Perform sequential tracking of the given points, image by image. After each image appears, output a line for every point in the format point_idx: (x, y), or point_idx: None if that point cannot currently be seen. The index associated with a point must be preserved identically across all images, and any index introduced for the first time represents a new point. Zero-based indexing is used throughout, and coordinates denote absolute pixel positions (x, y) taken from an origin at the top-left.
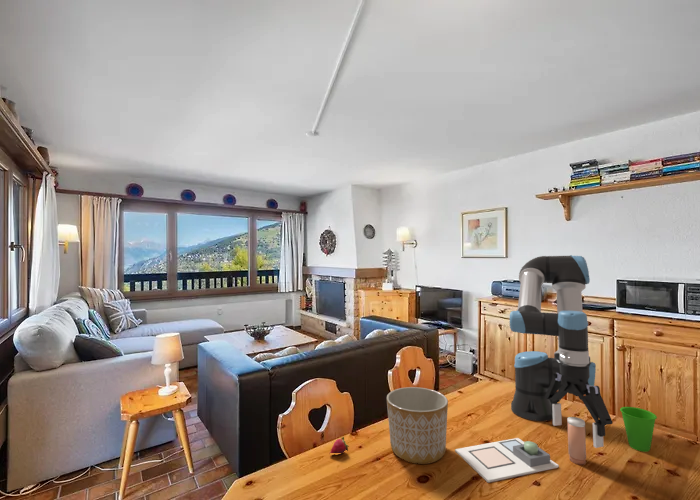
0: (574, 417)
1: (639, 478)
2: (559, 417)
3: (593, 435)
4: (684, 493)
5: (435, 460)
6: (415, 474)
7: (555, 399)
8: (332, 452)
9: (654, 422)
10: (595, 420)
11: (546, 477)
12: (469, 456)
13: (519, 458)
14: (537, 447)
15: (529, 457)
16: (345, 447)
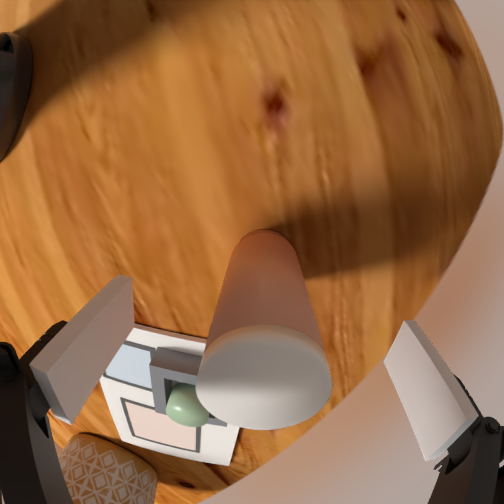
0: (220, 366)
1: (432, 171)
2: (109, 321)
3: (403, 402)
4: (498, 150)
5: (154, 471)
6: (174, 484)
7: (60, 467)
8: None
9: None
10: (446, 472)
11: None
12: (150, 444)
13: None
14: (205, 410)
15: (220, 424)
16: None
